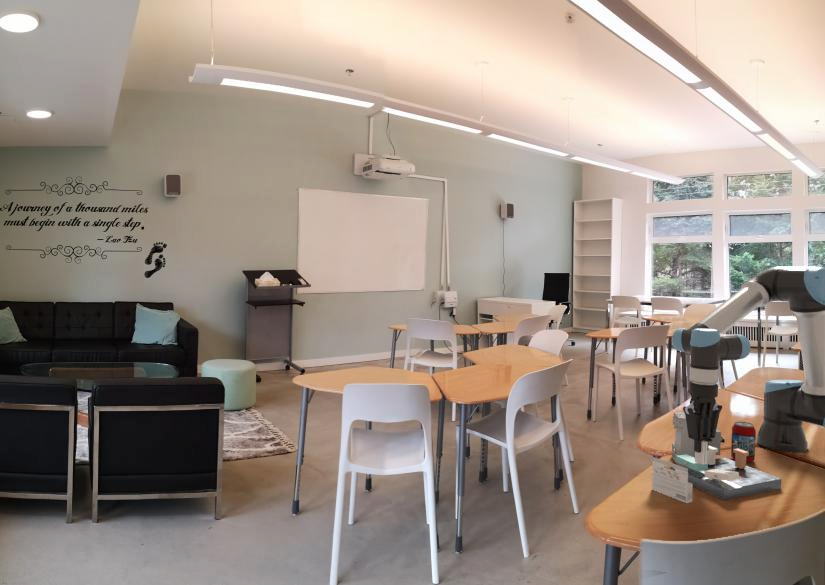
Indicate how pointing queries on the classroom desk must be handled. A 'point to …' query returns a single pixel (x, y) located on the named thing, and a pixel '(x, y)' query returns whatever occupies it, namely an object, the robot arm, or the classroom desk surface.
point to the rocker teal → (691, 462)
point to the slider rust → (740, 458)
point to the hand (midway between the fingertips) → (700, 462)
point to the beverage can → (744, 439)
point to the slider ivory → (711, 455)
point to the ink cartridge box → (671, 481)
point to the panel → (725, 490)
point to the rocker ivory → (722, 475)
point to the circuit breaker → (687, 444)
